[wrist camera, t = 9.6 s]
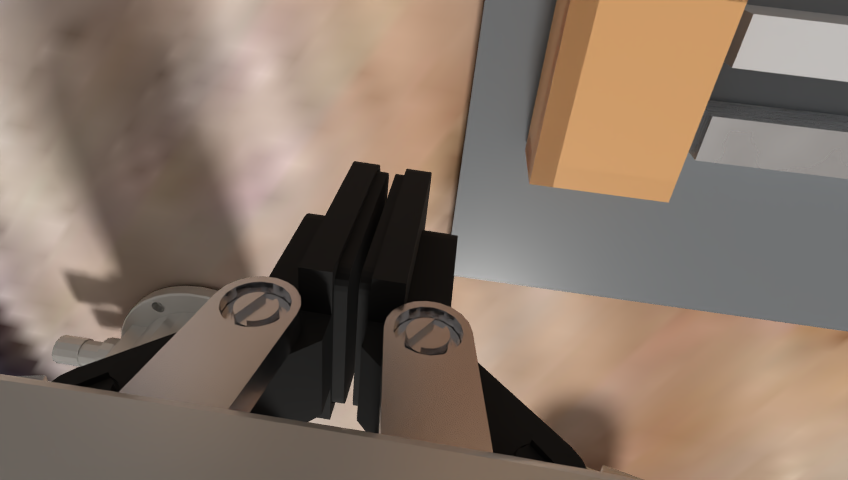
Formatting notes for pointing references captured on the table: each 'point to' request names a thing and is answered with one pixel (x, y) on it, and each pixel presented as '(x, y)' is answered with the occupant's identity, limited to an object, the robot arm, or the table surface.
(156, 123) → the table surface
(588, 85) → the tray
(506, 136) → the board
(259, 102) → the table surface
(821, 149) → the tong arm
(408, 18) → the table surface
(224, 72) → the table surface
